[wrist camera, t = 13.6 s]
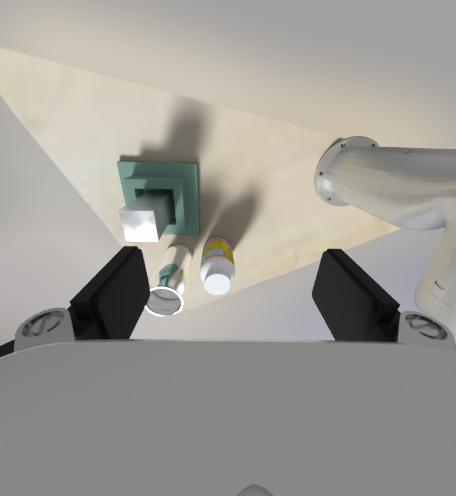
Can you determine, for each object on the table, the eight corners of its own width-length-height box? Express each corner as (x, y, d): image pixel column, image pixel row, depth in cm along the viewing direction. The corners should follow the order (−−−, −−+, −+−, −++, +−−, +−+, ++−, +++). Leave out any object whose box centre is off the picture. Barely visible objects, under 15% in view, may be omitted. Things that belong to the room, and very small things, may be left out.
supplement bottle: (232, 260, 47) (237, 298, 36) (205, 263, 47) (201, 301, 36) (230, 235, 44) (235, 267, 33) (201, 237, 44) (195, 271, 33)
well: (196, 163, 37) (194, 166, 32) (199, 232, 43) (197, 243, 39) (119, 161, 36) (105, 163, 32) (133, 232, 43) (124, 242, 38)
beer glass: (168, 238, 44) (147, 280, 31) (198, 249, 45) (190, 293, 32) (159, 263, 47) (137, 311, 33) (188, 272, 48) (177, 321, 35)
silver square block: (172, 190, 38) (153, 211, 27) (175, 212, 40) (158, 241, 29) (148, 189, 38) (119, 210, 26) (152, 212, 40) (126, 241, 28)
